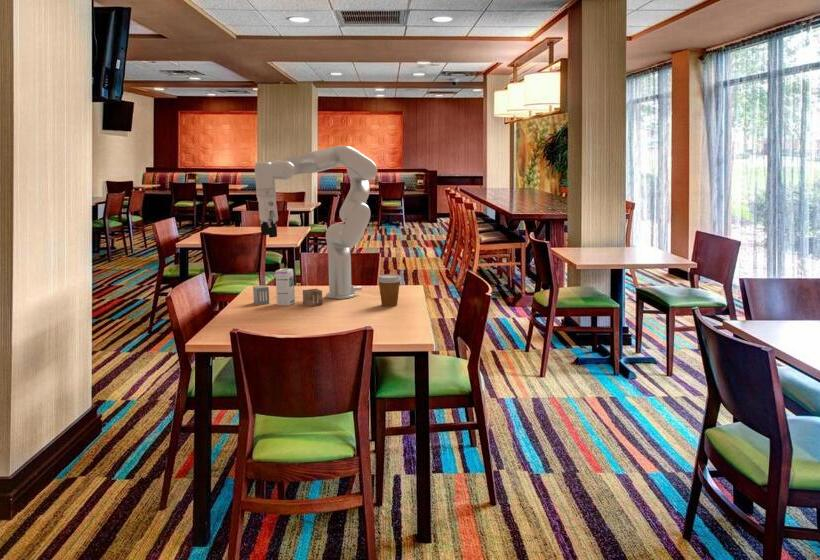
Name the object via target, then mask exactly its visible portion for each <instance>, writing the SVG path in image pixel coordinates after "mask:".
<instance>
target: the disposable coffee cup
mask: <svg viewBox="0 0 820 560" xmlns="http://www.w3.org/2000/svg"><path fill="white" fill-rule="evenodd" d="M376 280H377V282H378V287H379V293H380V294H379V295H380V300H381V306H382V307H385V306H393V307H396V305H397V306H398V301H399V293H400V282H401V280H402V279H401V277H400V275H399V274H391V273H389V274H388V273H387V274H380V275H378V277H377V279H376Z"/></svg>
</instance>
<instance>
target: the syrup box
mask: <svg viewBox="0 0 820 560" xmlns="http://www.w3.org/2000/svg"><path fill="white" fill-rule="evenodd" d="M274 273H275V289H276V305H277V306H286V307H288V306H289V307H290V306H291V305H293V304H295V303H296V300H295V299H296V298H295V297H296V296H295V295H296V294H295V281H294V279H295V278H294V277H295V276H294V269H293V268H280V269H277V270H275V272H274Z"/></svg>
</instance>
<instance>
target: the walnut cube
mask: <svg viewBox="0 0 820 560" xmlns="http://www.w3.org/2000/svg"><path fill="white" fill-rule="evenodd" d="M302 305H304V306H306V307H308V308H309V307H310V308H311V307H319V306H323V290H320V289H319V288H312V289H311V288H310V289H302Z"/></svg>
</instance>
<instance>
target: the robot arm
mask: <svg viewBox="0 0 820 560" xmlns="http://www.w3.org/2000/svg"><path fill="white" fill-rule="evenodd" d="M339 167H345V168H346V173H347V176H348V178H349V182H350V189H349V191H348V193H347V195H346V197H345V199H344V201H343V203H342V205H341V207H340V208H339V213H338V214H339V218H340V219H341V221H342V222H344V223H341V222H340V223H337V222H336V223H333V224H330V226H328V227H327V229H326V232H325V240H326V241H325V242H326V247H327V253H328V254H327V256H328V261H327V263H328V289H329V292H326V294H325V298H327V299H335V300H337V299H338V300H342V299H343V300H344V299H350V298H354V297H355V296H356V293H355V292H359V291H362V289H363V287H362V286H361V285H359V286H357V285H356V286H355V285H353V284H352V256H351V255H352V254H351V249H350V248H353V247H356V246H357V245H358V243H359V242H360V240H361V239H362V237H363V235H364V232H365V230H366V228H367V227H368V224H369V222H370V219H371V214H372V213H371V209H370V207H369V205H368V204H366V203H367V200H368V199H369V196H370V189H371V187H370V182H369V181H371V180H373V179H374V178H376V176H377V174H378V167H377V165H376V163H375V162H374V160H372V159H371V158H369V157H367V156H366V155H364V154H363V153H361V152H360V151H359V150H357V149H355V148H354V147H353V146H350V145H336V146H335V145H334V146H332V147H331V146H330V147H327V148H323V149H318V150H314V151H310V152H309V151H308V152H306V153H302V154H298V155H294V156H290V157H289V156H288V157H283V158H280V159H276V160H272V161H258V162H256V163H255V164H254V179H255V188H256V189H255V191H256V193H255V194H256V198H257V199H258V216H259V217H258V218H259V221H260V233H261V234H260V235H261V236H268V237H269V238H277V237H278V230H277V229H278V227H277V225H278V224H277V222H278V221H279V215H278V207H277V200H276V197H277V191H276V180H282V181H283V180H290V179H291V178H293V177H294V176H295V175H300V174H301V175H303V174H316V173H318V172H324V171H327V170H330V169H334V168H339Z"/></svg>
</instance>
